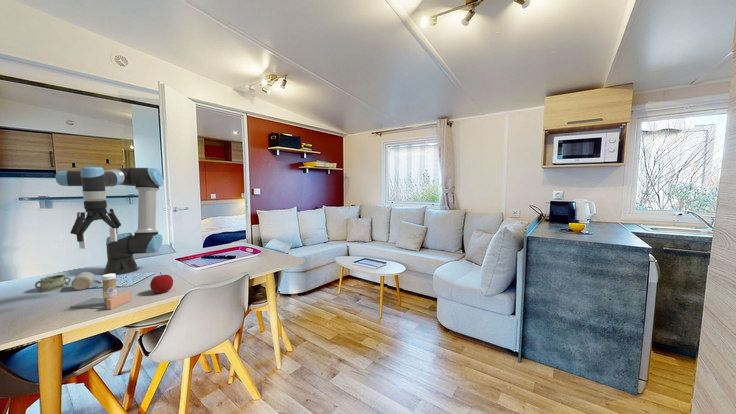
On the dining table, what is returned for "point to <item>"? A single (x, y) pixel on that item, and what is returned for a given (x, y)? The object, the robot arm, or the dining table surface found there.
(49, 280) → the vessel
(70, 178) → the robot arm
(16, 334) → the dining table surface
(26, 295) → the dining table surface
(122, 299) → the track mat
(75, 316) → the dining table surface
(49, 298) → the dining table surface
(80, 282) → the ceramic mug
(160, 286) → the apple
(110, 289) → the sprinkles bottle
